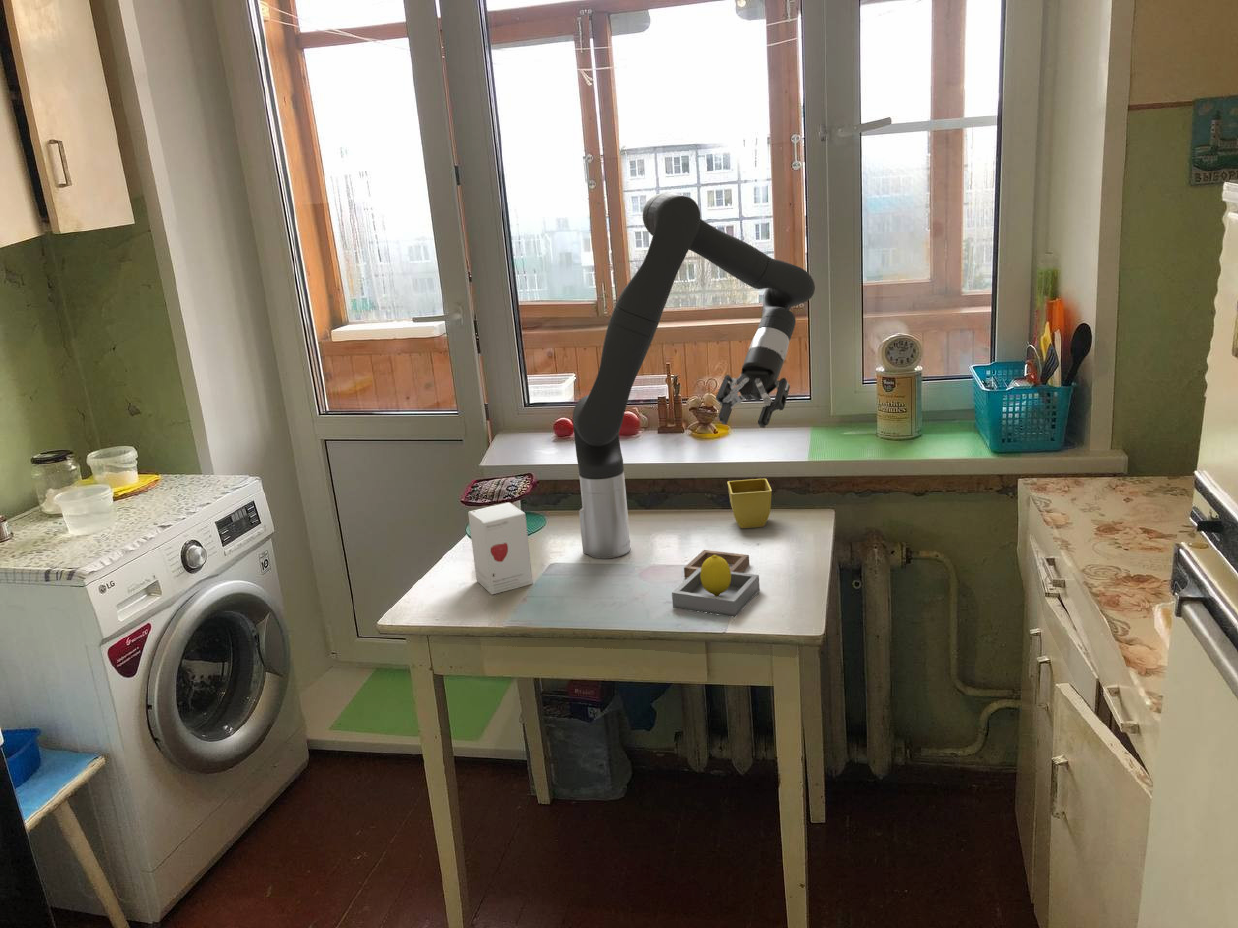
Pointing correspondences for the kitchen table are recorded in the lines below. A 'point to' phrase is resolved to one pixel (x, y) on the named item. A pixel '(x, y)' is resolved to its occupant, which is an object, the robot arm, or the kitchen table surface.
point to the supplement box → (500, 547)
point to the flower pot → (750, 502)
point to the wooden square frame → (732, 558)
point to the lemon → (715, 575)
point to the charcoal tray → (726, 603)
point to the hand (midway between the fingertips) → (741, 424)
